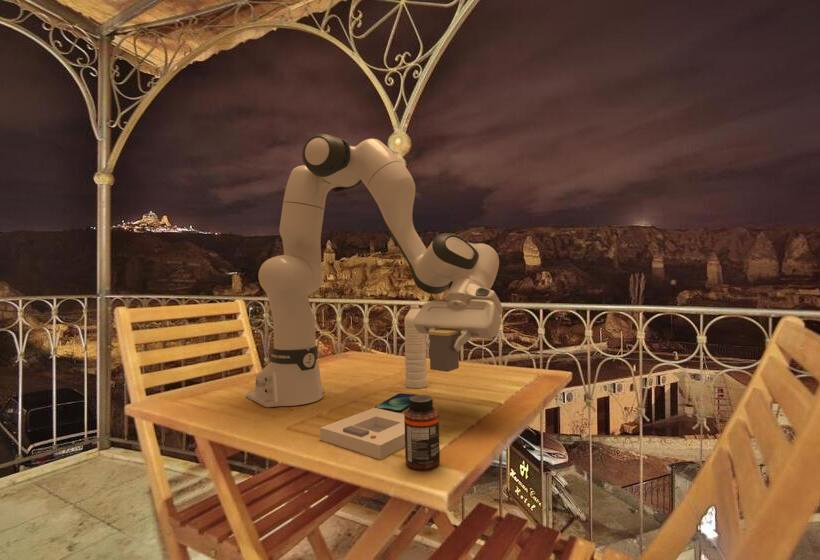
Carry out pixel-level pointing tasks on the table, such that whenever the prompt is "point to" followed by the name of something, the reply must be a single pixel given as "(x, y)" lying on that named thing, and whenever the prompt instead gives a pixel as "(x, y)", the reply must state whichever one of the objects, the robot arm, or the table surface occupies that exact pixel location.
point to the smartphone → (396, 403)
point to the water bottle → (414, 352)
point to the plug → (443, 350)
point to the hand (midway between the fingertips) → (442, 348)
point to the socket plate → (368, 432)
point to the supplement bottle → (421, 433)
